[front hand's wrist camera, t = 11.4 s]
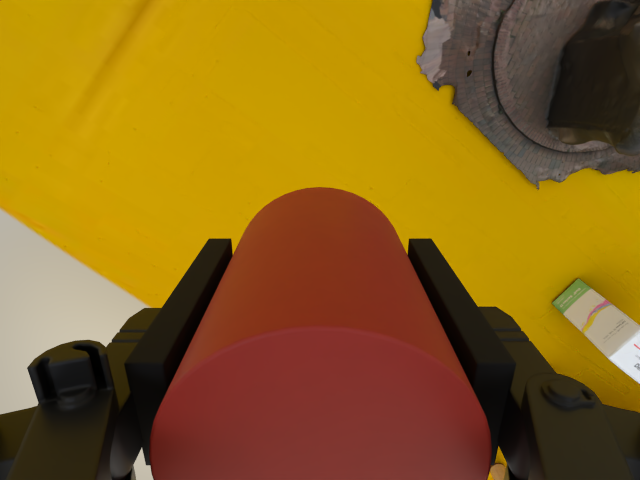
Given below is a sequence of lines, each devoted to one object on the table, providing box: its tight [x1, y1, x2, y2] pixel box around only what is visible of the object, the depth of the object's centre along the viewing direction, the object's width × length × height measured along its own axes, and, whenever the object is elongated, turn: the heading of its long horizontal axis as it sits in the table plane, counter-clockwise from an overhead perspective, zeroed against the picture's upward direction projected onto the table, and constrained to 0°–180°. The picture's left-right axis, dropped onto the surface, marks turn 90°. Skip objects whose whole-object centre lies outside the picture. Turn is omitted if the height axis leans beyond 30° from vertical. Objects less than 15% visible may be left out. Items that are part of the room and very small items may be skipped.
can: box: [149, 187, 492, 480], centre depth 11 cm, size 6×6×8 cm
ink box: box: [552, 279, 640, 384], centre depth 49 cm, size 9×5×15 cm, turn 53°
